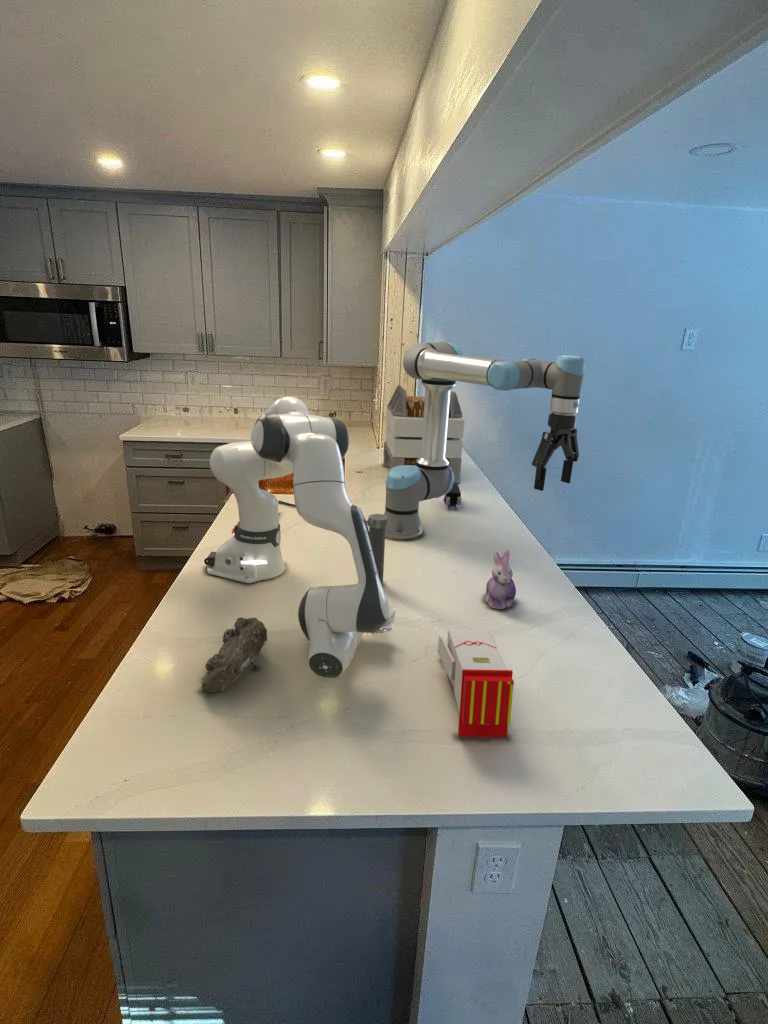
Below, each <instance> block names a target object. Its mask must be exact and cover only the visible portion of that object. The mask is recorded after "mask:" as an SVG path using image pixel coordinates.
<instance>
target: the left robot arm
mask: <svg viewBox="0 0 768 1024" xmlns="http://www.w3.org/2000/svg"><path fill="white" fill-rule="evenodd" d="M349 446H350V434H349V430H348V427H347V426H346V424H345V423H344V422H343V421H342V420H340V419H337V418H335V417H331V416H327V415H326V416H325V415H316V414H310V411H309V409H308V407H307V405H306V404H305V403H304V402H303V400H301V399H300V398H297V397H295V396H287V395H286V396H282V397H280V398H278V399H276V400H275V401H274V402H272V403H271V404H270V405H269V406H268V408H266V409H265V410H264V412H262V414H261V415H260V416H259V417H258V418H257V419H256V421H255V423H254V427H253V428H252V430H251V432H250V440H245V441H235V442H229V443H226V444H222V445H219V446H217V447H215V448H214V449H213V450H212V452H211V454H210V458H209V469H210V471H211V474H212V475H213V476H214V477H215V479H216V480H217V481H219V482H220V483H222V484H224V485H225V486H226V487H228V489H230V491H231V492H232V493H233V495H234V497H235V500H236V504H237V509H238V510H237V511H238V519H239V521H237V523H236V525H234V526H233V528H232V529H231V530H230V531H231V535H232V534H234V535H233V536H231V537H230V538H229V539H227V540H226V541H225V542H224V543H222V544H220V546H219V547H218V548H217V550H216V551H210V553H209V554H208V556H207V557H206V558H204V560H203V562H204V564H205V565H206V566H207V568H206V572H207V574H209V575H213V576H216V577H221V578H225V579H229V580H233V581H237V582H241V583H244V584H252V583H256V582H259V581H263V580H270V579H274V578H276V577H278V576H280V575H282V574H283V573H284V572H285V570H286V566H285V562H284V560H283V555H282V548H281V542H282V541H281V539H282V532H281V524H280V521H279V516H278V514H279V502H278V501H279V500H278V499H277V496H276V495H274V494H273V493H272V492H270V491H267V490H265V489H262V488H260V486H259V481H261V480H270V479H278V478H283V477H286V476H289V475H291V474H293V475H292V483H293V500H294V505H295V506H296V507H295V509H296V512H297V513H298V515H299V516H300V517H301V519H302V520H304V521H305V522H306V523H308V524H309V525H311V526H313V527H316V528H319V529H322V530H326V531H328V532H333V533H335V534H337V535H340V536H341V537H342V538H344V539H345V540H346V541H347V542H348V544H349V546H350V550H351V554H352V558H353V563H354V566H355V570H356V575H357V579H358V582H357V583H354V584H343V585H323V586H321V585H320V586H312V587H310V588H309V589H308V590H307V591H306V592H305V593H304V595H303V597H302V598H301V600H300V602H299V605H298V609H297V618H298V623H299V627H300V629H301V631H302V633H303V635H304V636H305V639H307V641H308V642H309V649H308V654H307V655H308V656H307V663H308V667H309V669H310V670H311V672H312V673H313V674H315V675H317V676H318V677H320V678H324V679H334V678H338V677H340V676H341V675H342V674H344V673H345V672H346V671H347V669H348V668H349V666H350V665H351V663H352V661H353V658H354V656H355V655H356V652H357V647H358V646H359V644H360V642H361V640H362V637H363V635H364V633H366V634H375V633H376V634H385V633H388V632H391V631H392V629H393V627H394V623H395V620H396V608H394V606H392V605H390V602H389V598H388V596H387V593H386V590H385V587H384V583H383V584H382V581H381V577H380V573H379V569H378V565H377V561H376V557H375V553H374V549H373V545H372V541H371V537H370V534H369V526H368V523H366V521H367V519H366V517H365V515H364V513H363V510H362V509H361V508H360V507H359V506H357V505H354V504H353V502H352V501H351V499H350V497H349V495H348V491H347V487H346V475H345V470H344V463H343V462H344V461H343V458H344V457H345V455H346V454H347V452H348V450H349Z"/></svg>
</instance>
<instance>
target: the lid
mask: <svg viewBox="0 0 768 1024" xmlns="http://www.w3.org/2000/svg"><path fill="white" fill-rule="evenodd" d="M367 521H368V523H367V526H368V528H369V527H371V528H376V529H381V528H385V527H386V526H387V516H385V515H384V514H382V513H372V514H370V515H368V517H367Z"/></svg>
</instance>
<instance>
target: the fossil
mask: <svg viewBox="0 0 768 1024" xmlns="http://www.w3.org/2000/svg"><path fill="white" fill-rule="evenodd" d="M265 626H266V625H265V624H264V622H262V621H260V620H259V619H258V618H257V617H248V618H245V617H241V616H239V617H238V618H236V620H235V622H234V625H233V627H234V628H228V629H226V630H225V631H224V632H223V634H222V642H223V643H222V645H221V647H219V648H220V649H219V650H218V653H215V654H212V656H211V657H210V658H208V660H207V661H206V662H205V663H206V664H205V670H206V671H207V672H205V674H204V676H203V677H201V686H202V687H201V688H202V691H204V692H207V693H210V694H212V693H213V694H214V693H216V692H222V691H225V690H226V689H227V688H228V687H229V686H230V685H232V684H233V683H234V682H235V681H236V680H237V679H238V678H239V677H240V676H241V675H242V674H243V673H245V671H247V668H248V666H249V665H251V666H252V667H253V668H254V669H257V665H256V664H255V663H254V661H253V660H254V659H255V657H257V656H259V654H260V653H261V652H262V649H263V647H264V646H265V643H266V642H267V641H268V629H267V628H266V627H265Z"/></svg>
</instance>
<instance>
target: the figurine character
mask: <svg viewBox="0 0 768 1024" xmlns="http://www.w3.org/2000/svg"><path fill="white" fill-rule="evenodd" d="M442 500H443V502H444V504H445V506H447V509H448V510H451V508H453V507H454V510H457V509H458V507H459V506H461V505H462V492H461V490H460V486H459V483H454V484H453V487H452V489H451V490H450V491H449V492H448V493H447V494H445V495H443V499H442ZM450 507H451V508H450Z"/></svg>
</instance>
